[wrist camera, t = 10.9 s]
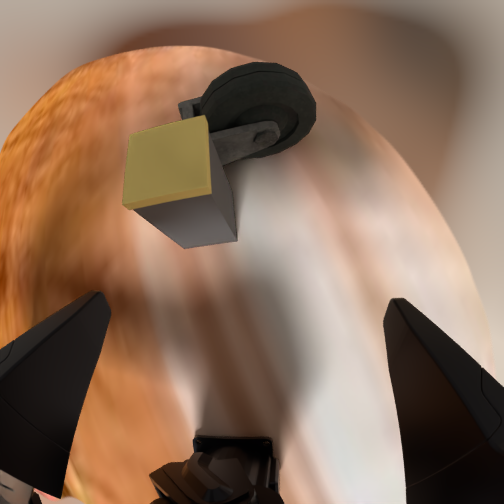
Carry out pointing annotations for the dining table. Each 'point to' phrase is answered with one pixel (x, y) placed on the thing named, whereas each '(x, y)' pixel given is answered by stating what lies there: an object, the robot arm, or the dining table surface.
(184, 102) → the caster wheel
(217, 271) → the dining table surface
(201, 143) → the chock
